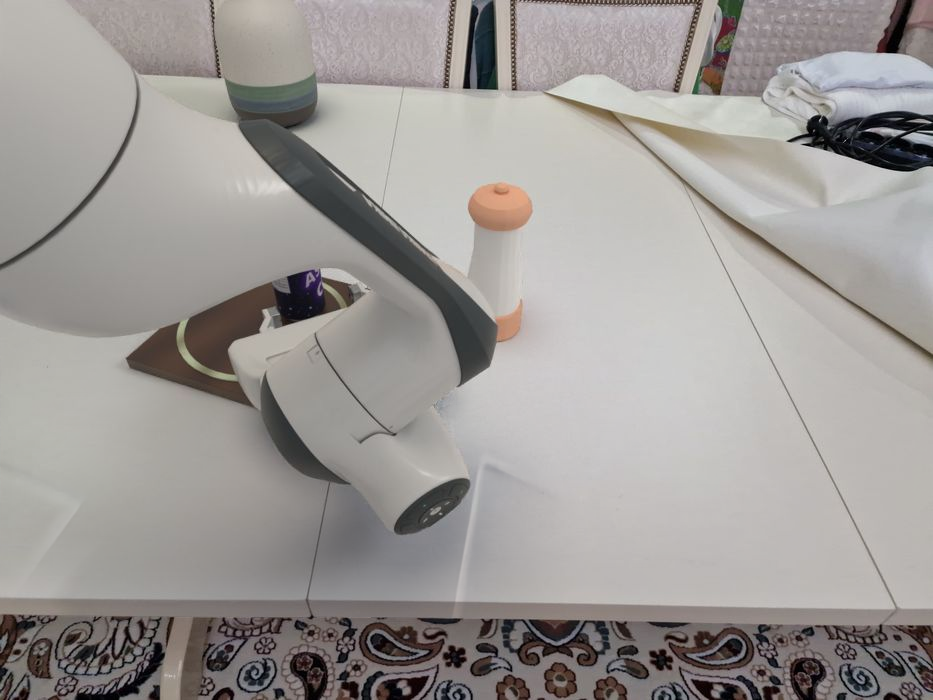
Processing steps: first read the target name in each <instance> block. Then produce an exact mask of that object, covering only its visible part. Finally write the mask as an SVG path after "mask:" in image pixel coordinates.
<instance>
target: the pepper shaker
mask: <svg viewBox="0 0 933 700" xmlns="http://www.w3.org/2000/svg"><path fill="white" fill-rule="evenodd" d="M467 203H468V204H467V210H468V214H469V216H470V217H471V220H472V221H473V223H474V229H473V230H474V232H473V247H472V253H471V258H470V261H469V265H468V266H469V267H468V270H467V275H466V277H467V278H468V279H470V280H471V282H472V283H473V284H474V285H475V286H476V287H477V288H478V289H479V291H480V292H481V293H482V295H483V296H484V297H485V299H486V300H487V302H488V304H489V306H490V307H491V309H492V312H493V314H494V317H495V321H496V324H497V325H498V334H497V341H496V343H498V342H499V343H500V342H504V341H505V342H506V341H507V340H509V339H511V338H513V337H514V336H516V335H517V334H518V333H519V331H520V329H521V323H522V315H523V308H524V307H523V300H522V298H521V297H522V290H523V283H524V281H523V279H524V278H523V267H522V247H523V246H522V245H523V236H524V235H523V234H524V226H525V225H526V224H527V223H528V221H529V220H530V218H531V217H532V214H533V204H532V203H533V202H532V200H531V198H530V197H529V195H528V193H527V192H526V191H525V190H524V189H522V188H520V187H518V186H516V185H513V184H508V183H506V182H497V183H489V184H485V185H482V186H480V187H479V188H477V189H476V190H475V191H474V192H473V193H472V195H471V196H470V198H469V200H468V202H467Z"/></svg>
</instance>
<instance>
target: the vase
mask: <svg viewBox="0 0 933 700" xmlns="http://www.w3.org/2000/svg"><path fill="white" fill-rule="evenodd" d="M310 31H311V30H310V26H309V23H308V21H307V19H306V16H305V14H304V13H303V11H302V10H301V8H300V7H299V6H298V5H297V4H296V3H295V2H294V1H292V0H224V1H223V2H222V3H221V4H220V6H219V8H218V9H217V11H216V13H215V16H214V23H213V33H214V39H215V40H214V41H215V44H216V49H217V53H218V58H219V61H220V66H221V70H222V75H223V79H224V83H225V87H226V91H227V94H228V95H227V96H228V98H229V101H230V105H231V107H232V108H233V110H234V111H235V113H236V115H237V116H238V117H239V118H240V119H241V120H242V121H249V120H260V119H267V120H270V121H272V122H274V123H276V124H278V125H280V126H282V127H283V128H285V127H290V126H294V125H298V124H300V123H302V122H305V121H306V120H308V119H309V118H310V117H311V116H313V114H314V113H315V110H316V108H317V104H318V99H319V98H318V96H319V95H318V94H319V93H318V81H317V75H316V66H315V59H314V51H313V45H312V37H311V32H310Z"/></svg>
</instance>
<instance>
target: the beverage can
mask: <svg viewBox="0 0 933 700" xmlns="http://www.w3.org/2000/svg"><path fill="white" fill-rule="evenodd" d="M322 277H323V276H322V271H321V269H314V270H309V271H304V272H300V273H297V274H293V275H290V276H287V277H284V278H281V279H278V280H275V281H272V284H273V288H274V293H275V297H276V302H277V306H278V310H279V312H280V314H281V315H282V316H284V317H286V318H288V319H290V320H292V321H296V322H300V321H303V320H306V319H310V318H313V317H316V316H318V314H320V313H321V312H322V311H323V309H324V308H325V305H326V302H325V296H324V290H323V283H322Z"/></svg>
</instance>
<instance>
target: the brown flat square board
mask: <svg viewBox="0 0 933 700" xmlns="http://www.w3.org/2000/svg"><path fill="white" fill-rule="evenodd" d="M321 277H322V283H323V290H324V296H325V302H326V305H325V308H324V309H323V311H322V312H321V313H320V314H318V316H320V315H323V314H327V313H330V312H334V311H337V310H340V309H344V308H347V307H350V306H351V305H352V304H353V303H352V300H351V299H350V298H349V294H348V292H349V290H348V286H350V285H353V283H348V282H343V281H341V280H336V279H332V278H328V277H324V276H321ZM364 288H365V289H368V290H371V288H369V287H364ZM275 306H276V308H277V310H278V306H277V302H276V297H275V293H274V288H273V284H272V282H269V283H267V284H264V285H261V286H258V287H256V288H253V289H251V290H249V291H246V292H244V293H242V294H239V295H237V296H235V297H233V298H231V299H228V300H226V301H224V302H222V303H220V304H218V305H216V306H213V307H211V308H209V309H207V310H205V311H203V312H201V313H199V314H197V315H195V316H192V317H190V318H188V319H186V320H183V321H181V322H178V323H175V324H172V325H170V326H167V327H163V328H160V329H156V330H155V332H154V333H153V334H151V335H150V336H149V337H147V339H146V340H145V341H143V343H141V344H140V345H139V346H138V347H136V348H135V349H134V350H133V351H132V352H131V353H130V354H129V355H127V356H126V357H125V360H126V362H127V365H128V367H129V368H130V369H133V370H136V371H139V372H143V373H146V374H149V375H151V376H155V377H158V378H162V379H164V380H168V381H171V382H174V383H177V384H180V385H183V386H187V387H189V388H193V389H196V390H200V391H202V392H206V393H209V394H212V395H215V396H217V397H218V396H219V397H221V398H225V399H228V400H231V401H234V402H237V403H240V404H244V405H246V406H250V407H253V408H256V407H255V406H254V405H253V404H252V403H251V401H250V400H249V399H248V397H247V396H246V394H245V392H244V391H243V389H242V387H241V386H240V384H239V382H238V380H237V377H236V375H235V372H234V370H233V367H232V364H231V361H230V358H229V354H228V349H229V347H230V346H231V344H232V343H233V342H234V341H236V340H238V339H242V338H246V337H249V336H252V335H256V334H259V333H260V330H259V329H260V327H261V325H262V323H263V321H264V317H263V313H262V310H264V309H267V308H271V307H275ZM278 311H279V310H278ZM279 314H280V312H279ZM280 317H281V322H282V326H286V325H290V324H293V323H296V321H292V320H290V319H288V318H286V317H284V316H282V315H281V314H280ZM316 317H317V316H316Z"/></svg>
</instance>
